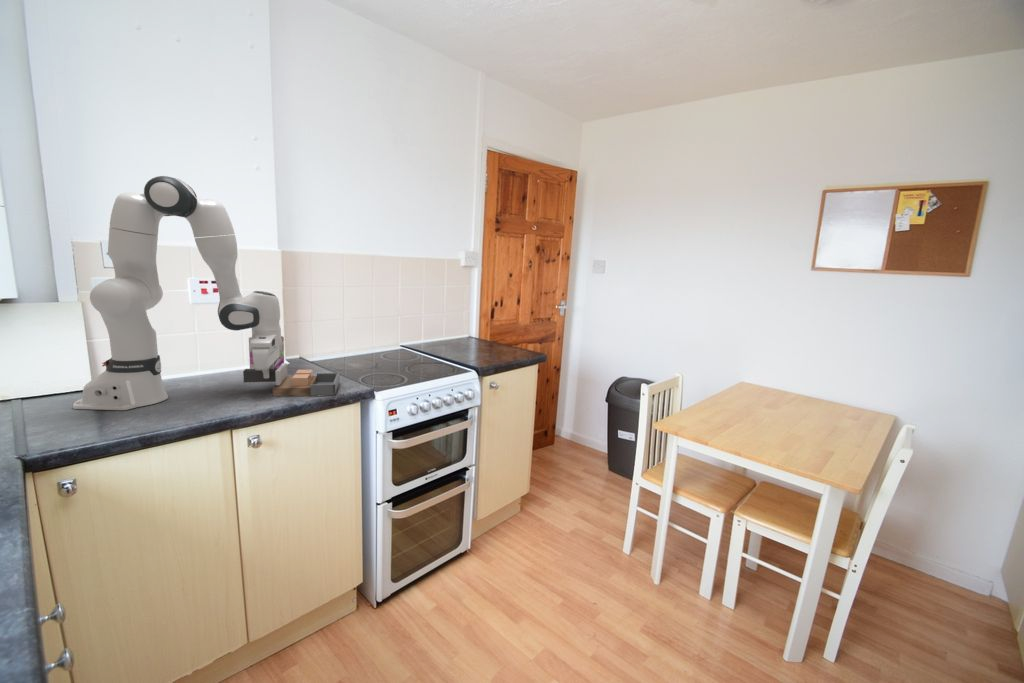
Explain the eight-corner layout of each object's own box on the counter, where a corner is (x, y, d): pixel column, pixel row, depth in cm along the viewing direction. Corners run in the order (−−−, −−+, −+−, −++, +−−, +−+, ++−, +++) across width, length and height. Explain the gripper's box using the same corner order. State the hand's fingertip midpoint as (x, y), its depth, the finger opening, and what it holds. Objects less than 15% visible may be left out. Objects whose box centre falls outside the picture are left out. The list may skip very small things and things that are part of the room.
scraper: (239, 385, 150) (239, 371, 149) (250, 376, 161) (249, 363, 160) (279, 385, 153) (279, 371, 152) (286, 376, 164) (286, 362, 163)
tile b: (295, 381, 160) (295, 373, 160) (298, 377, 165) (298, 369, 165) (310, 381, 162) (310, 373, 161) (312, 377, 167) (312, 369, 166)
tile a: (292, 386, 154) (292, 378, 154) (295, 382, 159) (294, 374, 159) (307, 386, 156) (307, 377, 155) (310, 382, 161) (309, 374, 160)
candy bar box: (256, 381, 167) (253, 339, 164) (249, 379, 170) (247, 337, 167) (285, 376, 176) (284, 336, 173) (279, 374, 179) (277, 334, 176)
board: (272, 396, 152) (272, 388, 151) (282, 384, 166) (282, 376, 165) (310, 395, 155) (310, 387, 154) (317, 383, 169) (316, 376, 169)
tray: (310, 396, 155) (310, 385, 154) (317, 383, 170) (317, 373, 169) (335, 395, 157) (335, 384, 156) (339, 382, 172) (339, 372, 171)
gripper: (264, 332, 163) (266, 369, 166) (248, 343, 144) (250, 384, 147) (283, 332, 165) (284, 368, 168) (269, 343, 146) (271, 384, 148)
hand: (268, 376), depth 157 cm, fingers closed on scraper, 3 cm apart
